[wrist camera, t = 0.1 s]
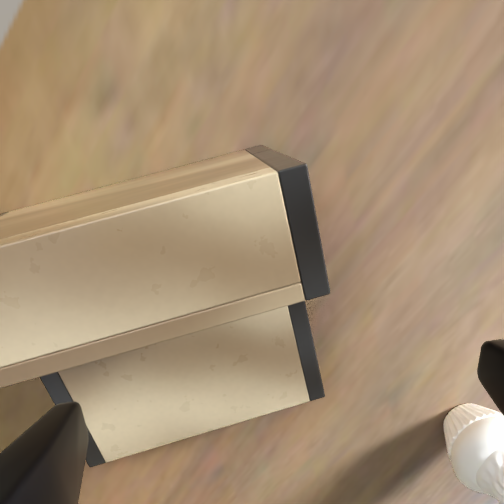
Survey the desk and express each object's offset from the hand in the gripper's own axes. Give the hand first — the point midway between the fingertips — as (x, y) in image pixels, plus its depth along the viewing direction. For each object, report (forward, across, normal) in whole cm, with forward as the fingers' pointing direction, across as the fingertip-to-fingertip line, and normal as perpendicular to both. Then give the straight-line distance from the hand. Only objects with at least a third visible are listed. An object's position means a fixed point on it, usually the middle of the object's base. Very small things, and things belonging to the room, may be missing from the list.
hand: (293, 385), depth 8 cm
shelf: (+15, +4, +5) cm, 16 cm away
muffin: (+15, -17, +18) cm, 29 cm away
